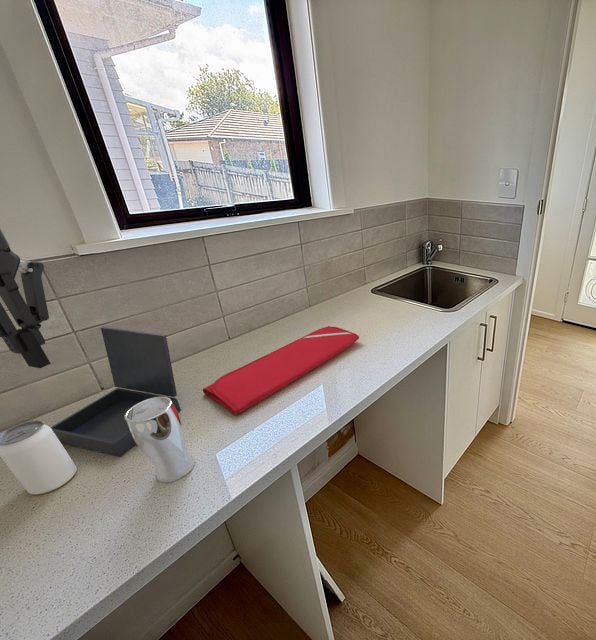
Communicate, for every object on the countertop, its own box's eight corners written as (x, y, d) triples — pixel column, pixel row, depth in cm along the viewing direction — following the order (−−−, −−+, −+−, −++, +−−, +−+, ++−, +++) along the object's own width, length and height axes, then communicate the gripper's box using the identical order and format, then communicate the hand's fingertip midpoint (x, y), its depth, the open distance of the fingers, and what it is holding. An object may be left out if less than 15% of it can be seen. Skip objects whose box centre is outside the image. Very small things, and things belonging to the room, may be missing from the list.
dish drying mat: (202, 393, 85) (198, 381, 83) (327, 331, 115) (326, 321, 114) (236, 418, 77) (232, 405, 75) (361, 344, 108) (360, 334, 106)
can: (83, 475, 63) (52, 427, 58) (34, 502, 58) (-5, 453, 53) (71, 460, 66) (40, 413, 61) (23, 485, 61) (-14, 436, 56)
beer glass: (160, 460, 66) (131, 400, 60) (201, 450, 68) (177, 392, 62) (148, 489, 60) (115, 427, 54) (193, 478, 63) (166, 416, 56)
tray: (120, 457, 67) (113, 443, 65) (54, 442, 70) (46, 429, 69) (181, 410, 79) (176, 398, 78) (123, 399, 83) (117, 387, 81)
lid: (162, 336, 73) (166, 335, 74) (100, 327, 76) (104, 326, 77) (174, 397, 77) (177, 395, 78) (114, 386, 80) (118, 385, 81)
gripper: (-102, 236, 41) (4, 391, 51) (33, 219, 52) (97, 348, 62) (-140, 232, 42) (-29, 384, 53) (-1, 216, 54) (67, 343, 64)
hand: (39, 364), depth 58 cm, fingers closed
